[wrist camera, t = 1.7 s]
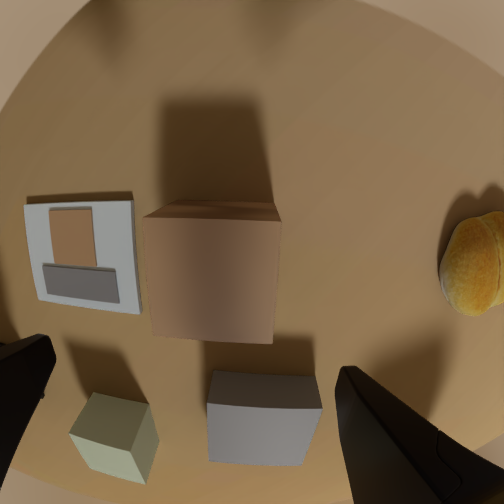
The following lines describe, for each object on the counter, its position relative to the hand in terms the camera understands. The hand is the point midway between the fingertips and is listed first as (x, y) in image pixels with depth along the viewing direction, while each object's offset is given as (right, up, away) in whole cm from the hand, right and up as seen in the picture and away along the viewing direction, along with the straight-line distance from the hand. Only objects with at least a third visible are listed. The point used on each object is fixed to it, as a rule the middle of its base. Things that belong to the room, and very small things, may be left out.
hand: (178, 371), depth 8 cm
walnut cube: (0, +4, +11) cm, 12 cm away
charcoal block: (+3, -10, +16) cm, 19 cm away
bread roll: (+20, +3, +11) cm, 23 cm away
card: (-11, +3, +12) cm, 16 cm away
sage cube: (-10, -13, +17) cm, 24 cm away
